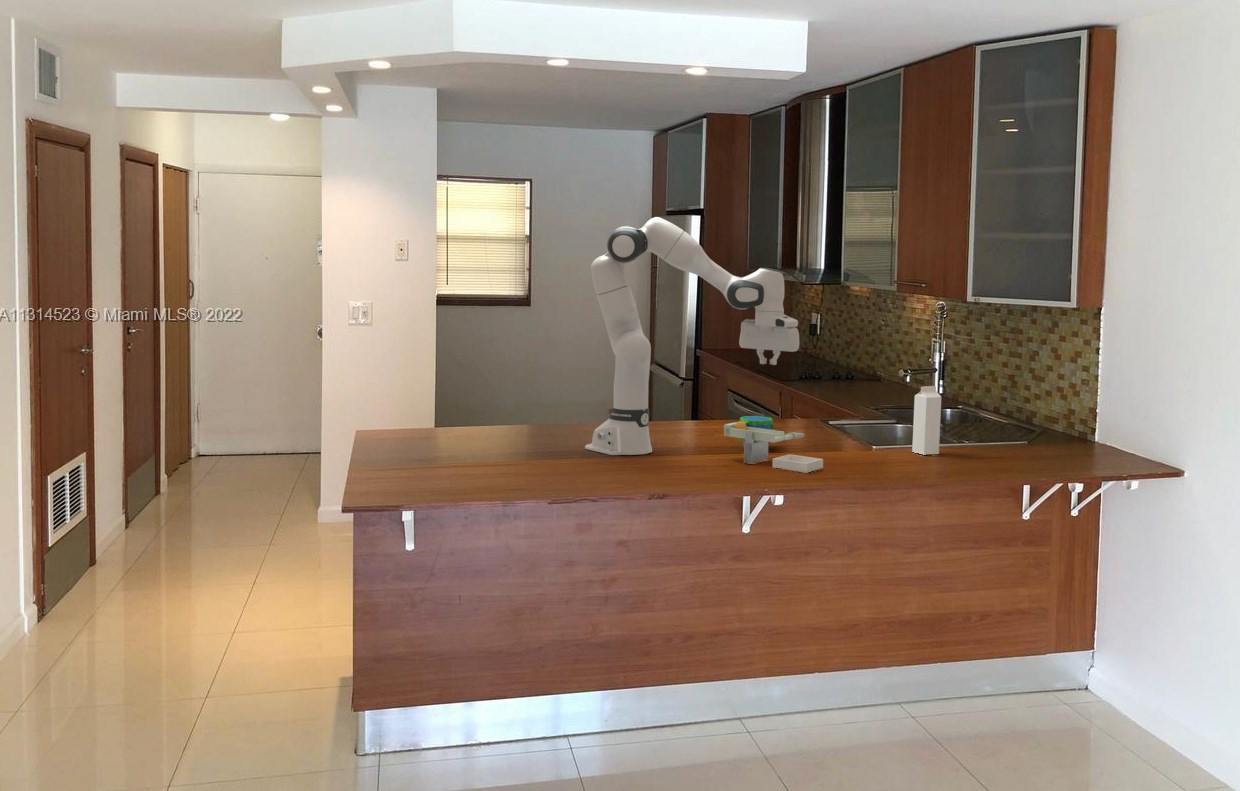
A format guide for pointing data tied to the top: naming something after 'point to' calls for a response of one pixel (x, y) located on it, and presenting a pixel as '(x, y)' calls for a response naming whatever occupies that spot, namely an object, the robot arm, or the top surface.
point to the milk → (926, 421)
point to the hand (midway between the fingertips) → (768, 364)
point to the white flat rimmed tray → (798, 463)
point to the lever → (760, 433)
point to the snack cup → (757, 423)
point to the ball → (740, 425)
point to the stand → (754, 449)
